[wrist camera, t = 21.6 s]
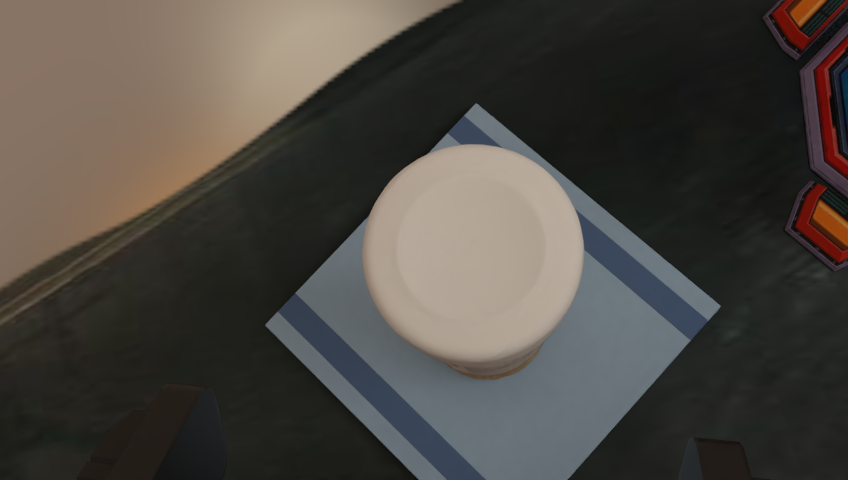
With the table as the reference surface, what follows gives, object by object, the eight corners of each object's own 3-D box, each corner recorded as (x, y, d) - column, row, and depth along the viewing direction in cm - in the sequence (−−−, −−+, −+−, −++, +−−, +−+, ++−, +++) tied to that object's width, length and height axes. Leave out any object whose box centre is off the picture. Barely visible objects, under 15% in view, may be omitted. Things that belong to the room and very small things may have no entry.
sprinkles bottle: (414, 278, 29) (334, 171, 16) (530, 245, 28) (548, 110, 15) (445, 397, 28) (387, 389, 15) (566, 364, 27) (618, 327, 14)
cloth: (718, 307, 28) (721, 306, 27) (497, 556, 27) (497, 559, 26) (476, 106, 30) (476, 102, 30) (267, 326, 29) (264, 324, 29)
